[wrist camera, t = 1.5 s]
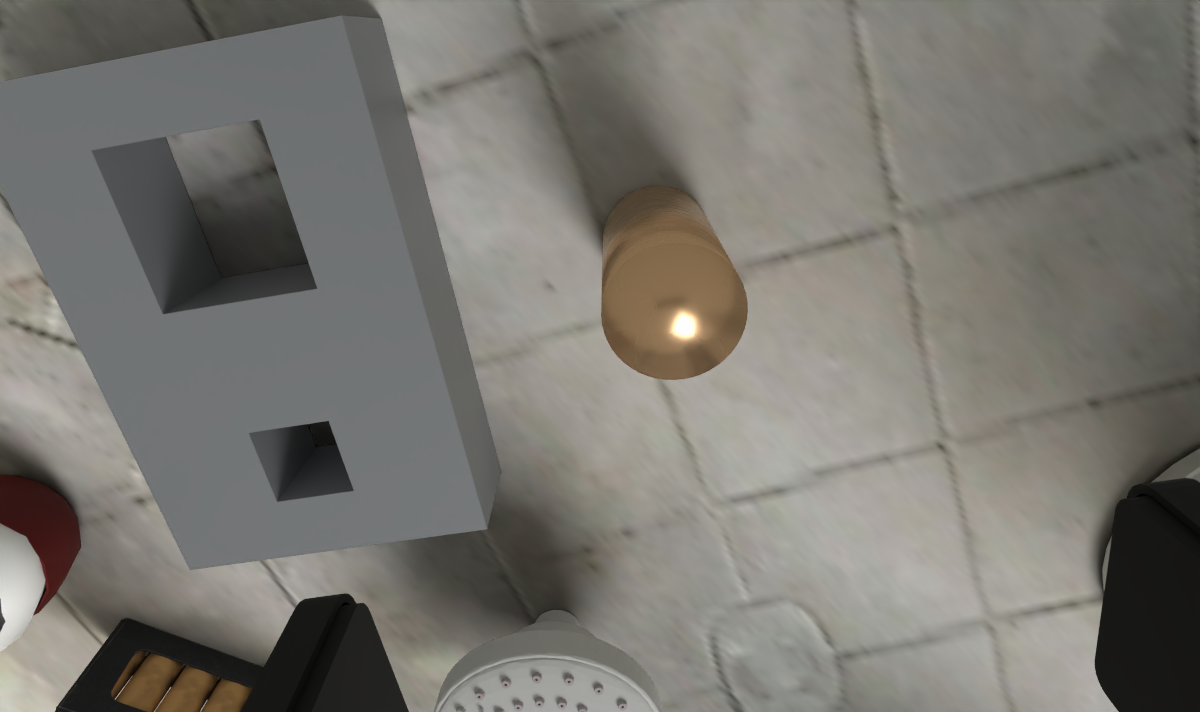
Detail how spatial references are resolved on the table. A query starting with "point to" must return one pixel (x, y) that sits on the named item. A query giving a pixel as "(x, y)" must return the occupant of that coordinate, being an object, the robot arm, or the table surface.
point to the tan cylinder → (668, 286)
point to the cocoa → (32, 551)
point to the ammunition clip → (159, 675)
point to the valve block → (259, 294)
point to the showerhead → (548, 673)
